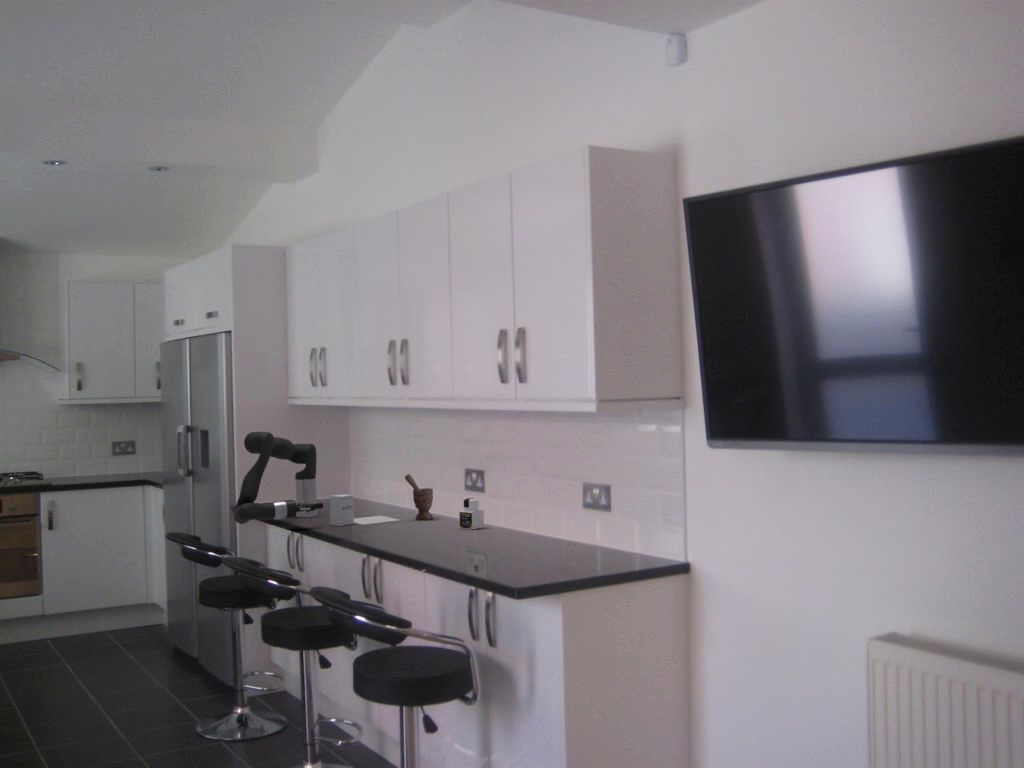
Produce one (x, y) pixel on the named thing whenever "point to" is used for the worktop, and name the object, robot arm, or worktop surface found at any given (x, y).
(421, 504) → the mortar and pestle
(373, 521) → the mat
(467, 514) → the medicine bottle
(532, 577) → the worktop surface
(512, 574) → the worktop surface
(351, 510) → the supplement box
